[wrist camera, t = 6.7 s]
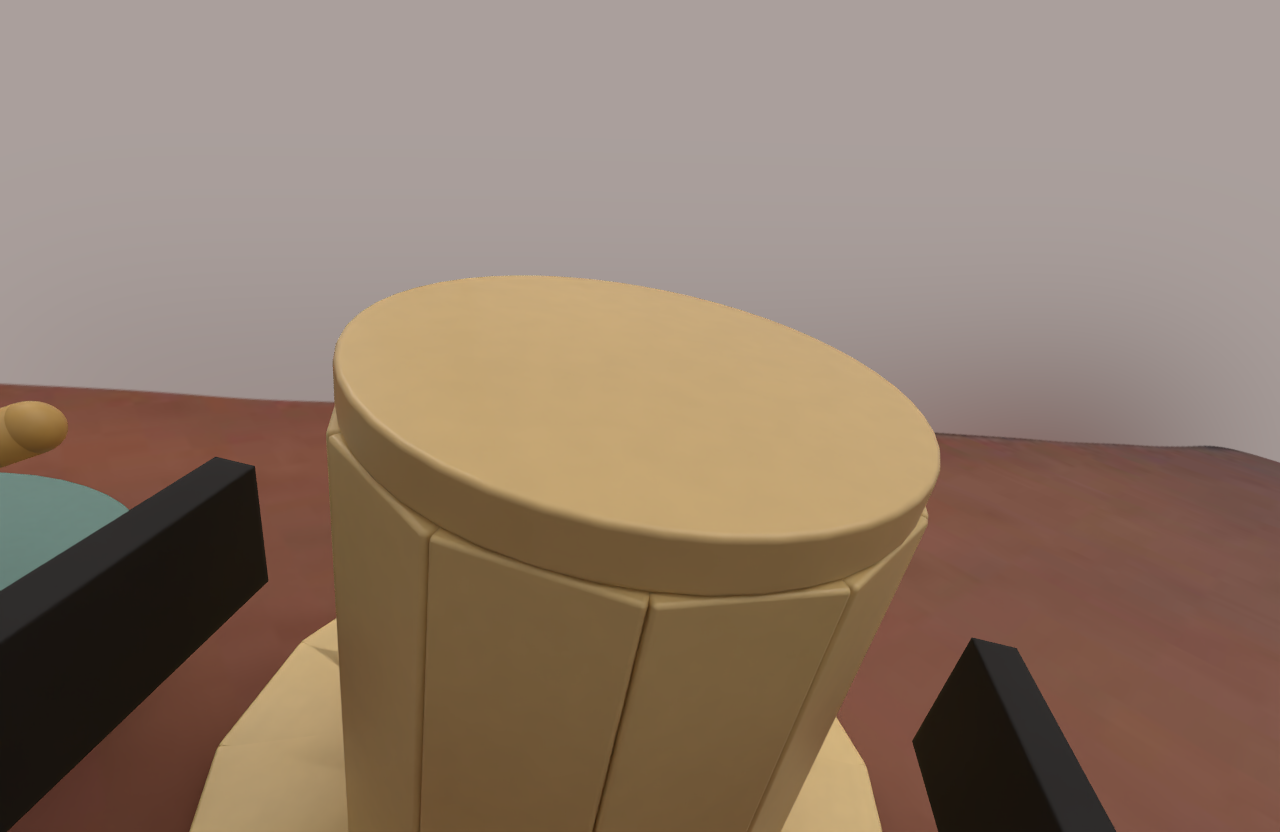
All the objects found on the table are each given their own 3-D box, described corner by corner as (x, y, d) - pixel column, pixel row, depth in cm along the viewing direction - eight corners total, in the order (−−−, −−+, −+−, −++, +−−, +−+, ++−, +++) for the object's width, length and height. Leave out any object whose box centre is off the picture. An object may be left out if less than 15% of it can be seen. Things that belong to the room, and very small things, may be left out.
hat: (724, 552, 23) (808, 275, 19) (1055, 1108, 11) (1567, 694, 6) (279, 575, 18) (240, 208, 14) (-58, 1640, 6) (-1853, 1639, 1)
